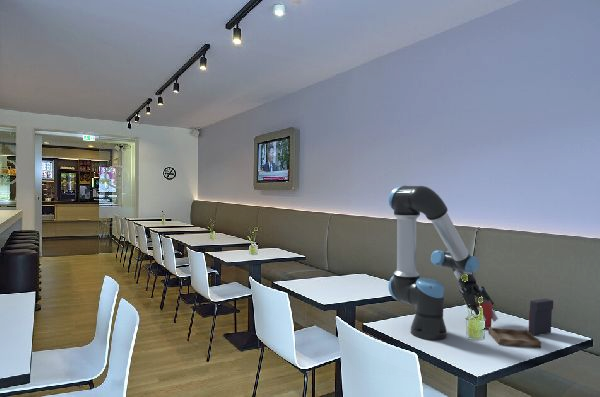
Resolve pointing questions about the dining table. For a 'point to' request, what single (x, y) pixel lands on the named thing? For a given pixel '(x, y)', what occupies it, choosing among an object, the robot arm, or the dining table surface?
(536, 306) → the dark grey upright block
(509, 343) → the walnut tray
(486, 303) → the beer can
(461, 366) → the dining table surface
